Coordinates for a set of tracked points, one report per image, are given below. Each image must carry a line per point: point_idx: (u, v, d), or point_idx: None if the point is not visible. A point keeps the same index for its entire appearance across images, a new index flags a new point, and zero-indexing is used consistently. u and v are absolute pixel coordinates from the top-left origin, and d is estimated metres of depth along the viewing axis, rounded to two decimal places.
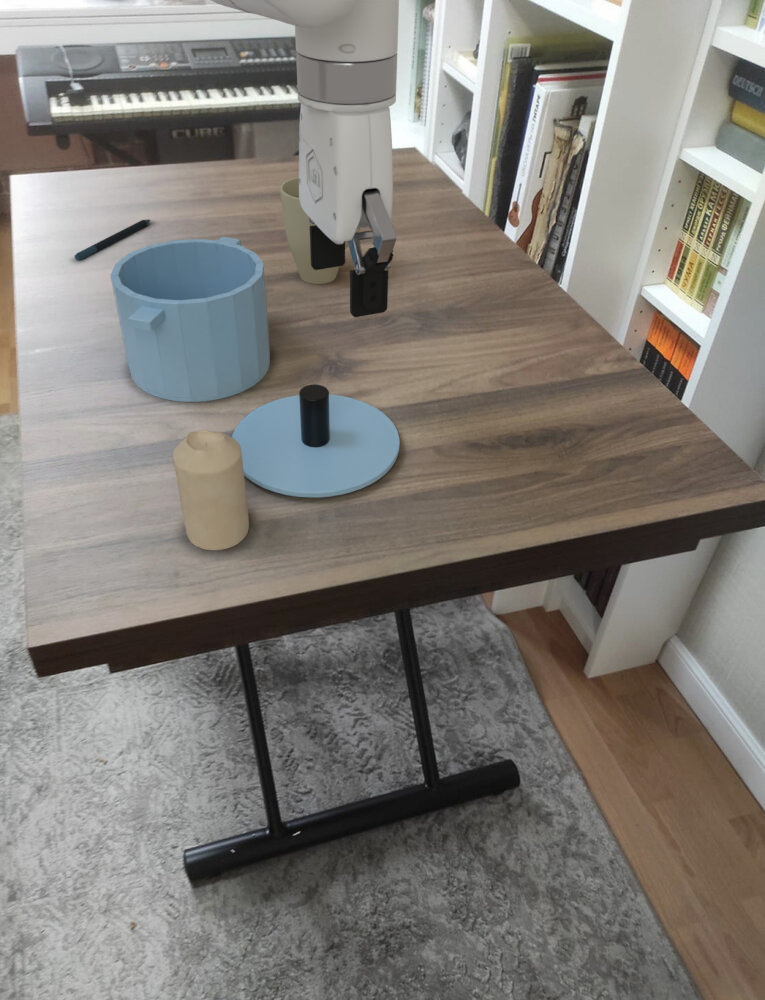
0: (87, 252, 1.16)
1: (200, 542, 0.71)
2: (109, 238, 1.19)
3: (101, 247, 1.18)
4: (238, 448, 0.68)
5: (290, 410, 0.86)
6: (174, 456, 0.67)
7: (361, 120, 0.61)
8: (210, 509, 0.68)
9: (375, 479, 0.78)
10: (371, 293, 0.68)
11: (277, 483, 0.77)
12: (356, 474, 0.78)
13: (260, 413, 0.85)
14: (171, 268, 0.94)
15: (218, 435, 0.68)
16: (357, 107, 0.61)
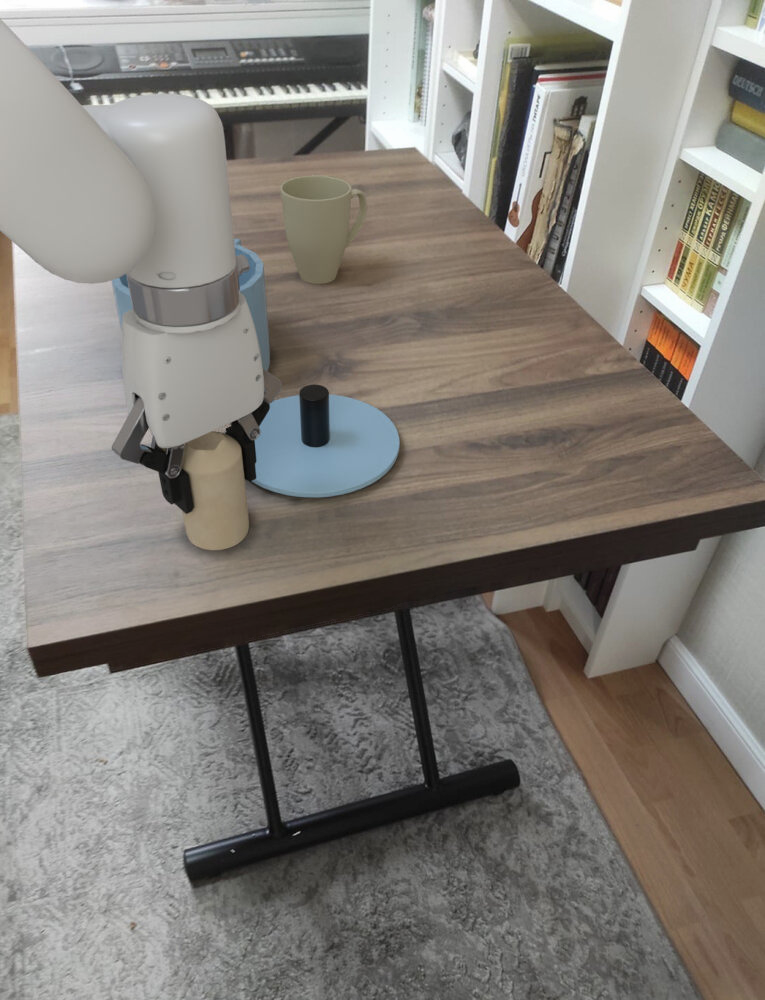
0: None
1: (200, 542, 0.71)
2: None
3: None
4: (239, 448, 0.68)
5: (290, 410, 0.86)
6: None
7: (127, 328, 0.58)
8: (210, 509, 0.68)
9: (375, 479, 0.78)
10: (164, 487, 0.67)
11: (277, 483, 0.77)
12: (356, 474, 0.78)
13: None
14: None
15: (218, 435, 0.68)
16: (137, 316, 0.58)
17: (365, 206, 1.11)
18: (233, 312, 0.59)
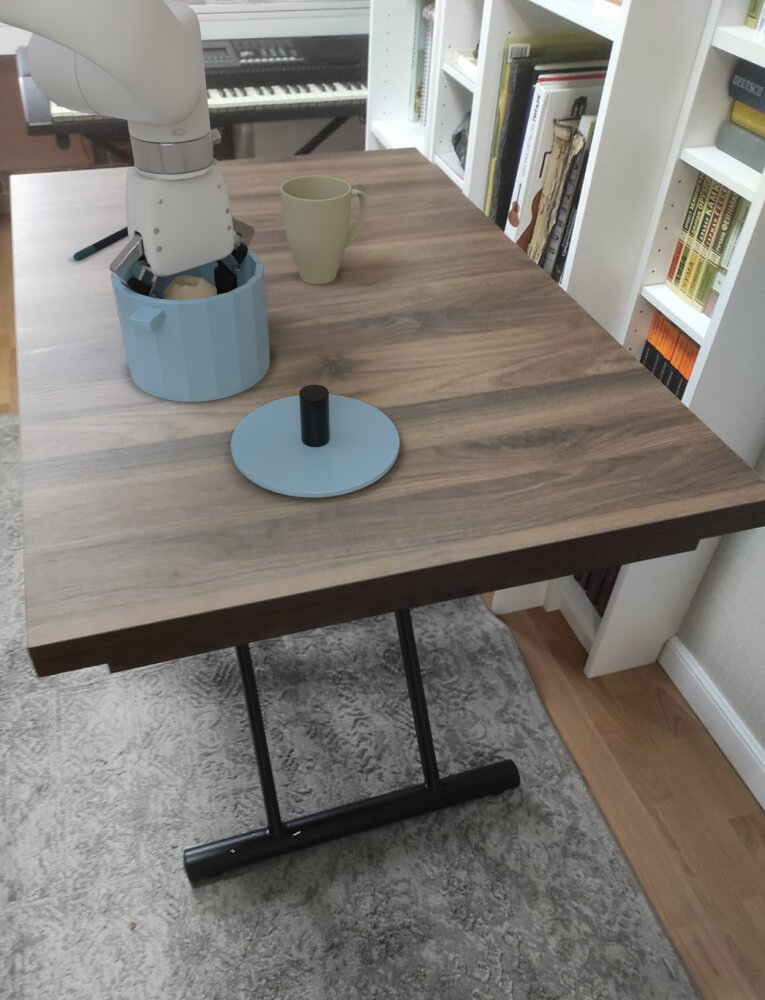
0: (86, 252, 1.16)
1: None
2: (108, 238, 1.19)
3: (100, 247, 1.18)
4: (214, 289, 0.89)
5: (290, 410, 0.86)
6: (165, 293, 0.88)
7: (130, 178, 0.79)
8: None
9: (375, 479, 0.78)
10: None
11: (277, 483, 0.77)
12: (356, 474, 0.78)
13: (260, 413, 0.85)
14: None
15: (199, 278, 0.89)
16: (137, 169, 0.79)
17: (365, 206, 1.11)
18: (208, 168, 0.80)
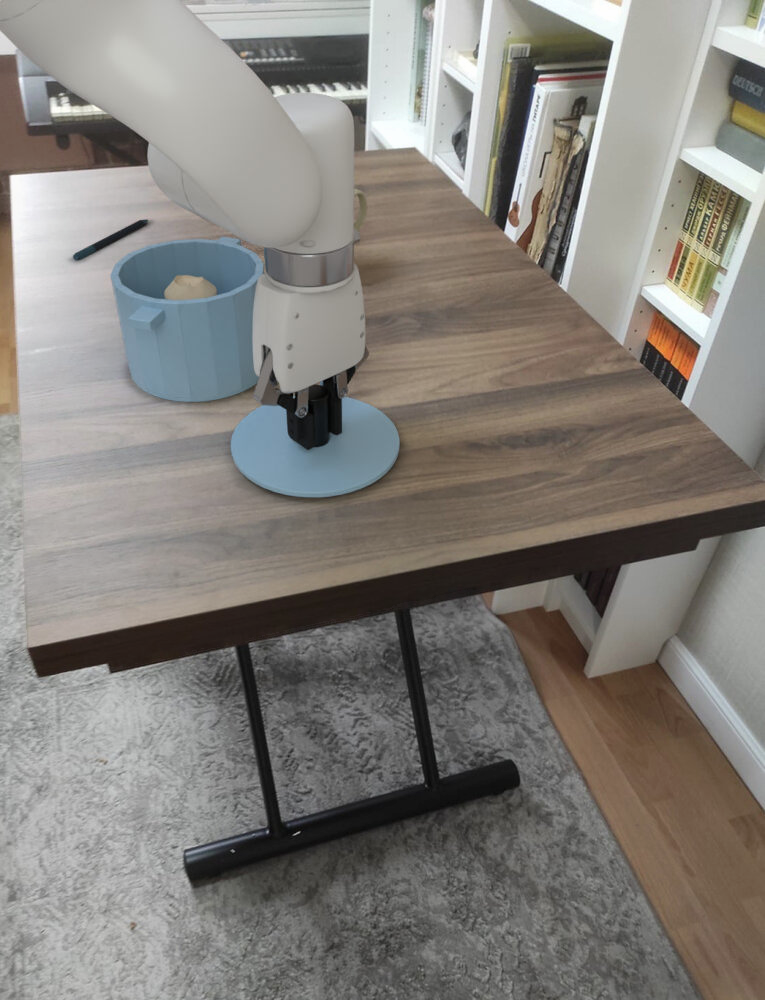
0: (85, 252, 1.16)
1: None
2: (107, 238, 1.19)
3: (99, 247, 1.18)
4: (214, 289, 0.89)
5: None
6: (165, 293, 0.88)
7: (263, 289, 0.69)
8: None
9: (375, 479, 0.78)
10: (291, 426, 0.79)
11: (277, 483, 0.77)
12: (356, 474, 0.78)
13: (260, 413, 0.85)
14: (171, 268, 0.94)
15: (199, 278, 0.89)
16: (271, 279, 0.69)
17: (365, 206, 1.11)
18: (350, 276, 0.70)
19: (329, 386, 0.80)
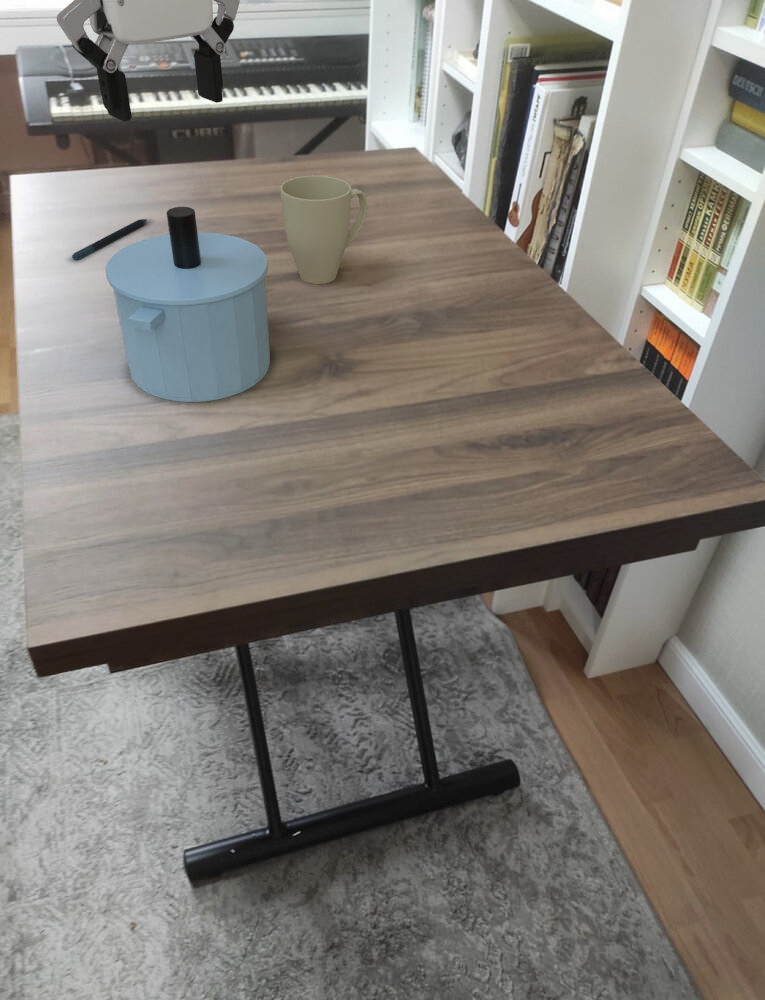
0: (84, 252, 1.16)
1: None
2: (106, 238, 1.19)
3: (98, 247, 1.18)
4: None
5: (169, 243, 0.91)
6: None
7: None
8: None
9: (237, 292, 0.83)
10: (103, 91, 0.73)
11: (143, 293, 0.82)
12: (219, 287, 0.83)
13: (139, 245, 0.90)
14: None
15: None
16: None
17: (365, 206, 1.11)
18: None
19: (206, 46, 0.77)
